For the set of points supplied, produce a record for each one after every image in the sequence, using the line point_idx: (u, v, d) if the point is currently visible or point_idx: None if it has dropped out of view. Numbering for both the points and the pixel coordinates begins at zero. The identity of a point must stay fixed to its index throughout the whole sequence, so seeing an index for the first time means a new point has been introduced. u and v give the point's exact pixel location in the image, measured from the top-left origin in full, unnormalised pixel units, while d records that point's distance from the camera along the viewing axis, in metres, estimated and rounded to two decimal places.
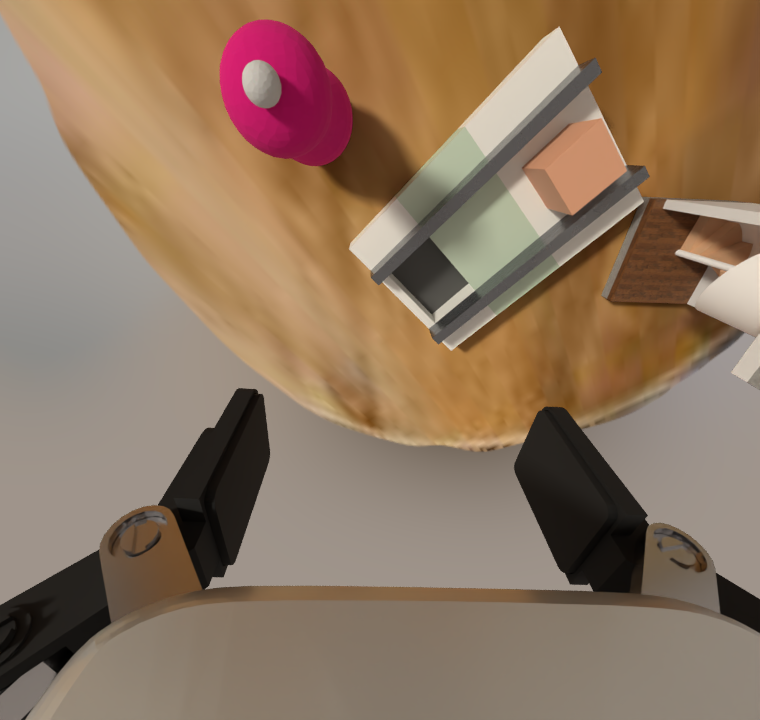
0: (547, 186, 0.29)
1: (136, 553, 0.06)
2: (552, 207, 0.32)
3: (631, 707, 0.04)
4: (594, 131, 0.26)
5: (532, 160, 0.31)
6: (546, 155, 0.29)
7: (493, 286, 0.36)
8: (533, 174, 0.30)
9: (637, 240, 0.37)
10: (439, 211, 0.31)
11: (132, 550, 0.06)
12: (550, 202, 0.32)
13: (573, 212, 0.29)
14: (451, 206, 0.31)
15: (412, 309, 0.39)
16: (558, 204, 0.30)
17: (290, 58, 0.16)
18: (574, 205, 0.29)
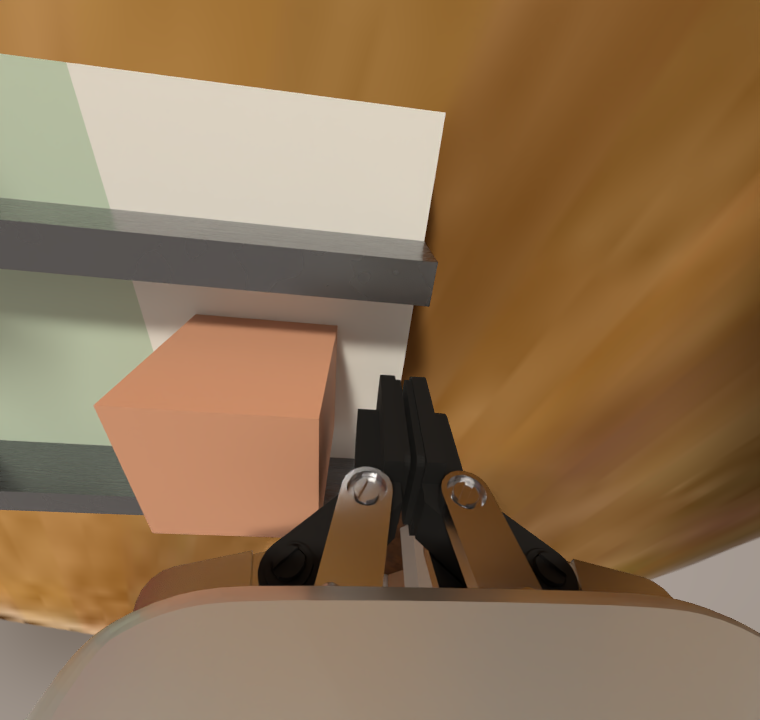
0: None
1: (359, 500, 0.08)
2: None
3: (631, 707, 0.04)
4: (285, 430, 0.08)
5: (214, 324, 0.11)
6: (211, 351, 0.10)
7: None
8: None
9: None
10: None
11: (358, 496, 0.07)
12: None
13: (157, 529, 0.10)
14: None
15: None
16: None
17: None
18: (164, 521, 0.10)
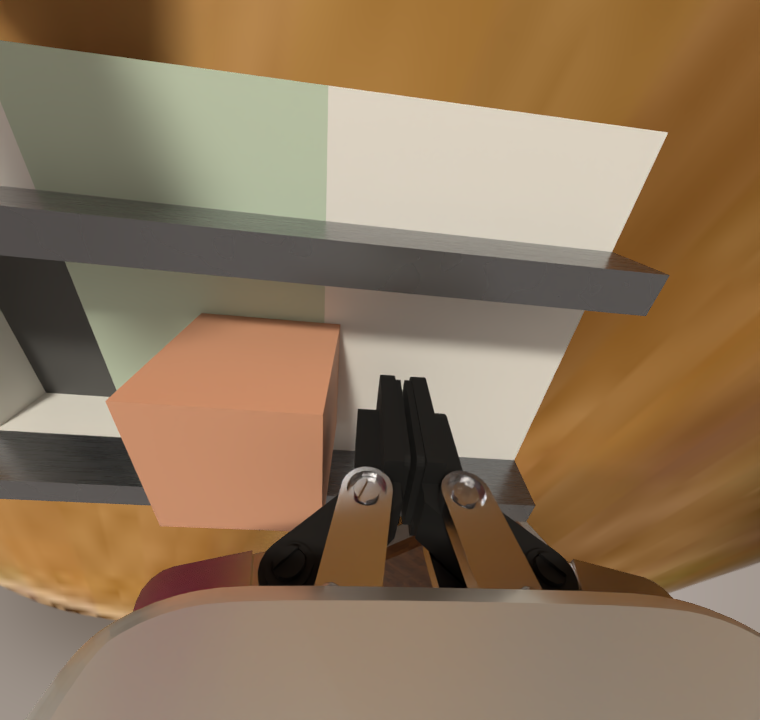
0: None
1: (359, 499, 0.08)
2: None
3: (631, 707, 0.04)
4: (290, 425, 0.08)
5: (220, 322, 0.11)
6: (217, 349, 0.10)
7: None
8: None
9: None
10: (47, 214, 0.08)
11: (358, 496, 0.07)
12: None
13: (164, 523, 0.10)
14: (102, 238, 0.08)
15: None
16: None
17: None
18: (171, 514, 0.10)
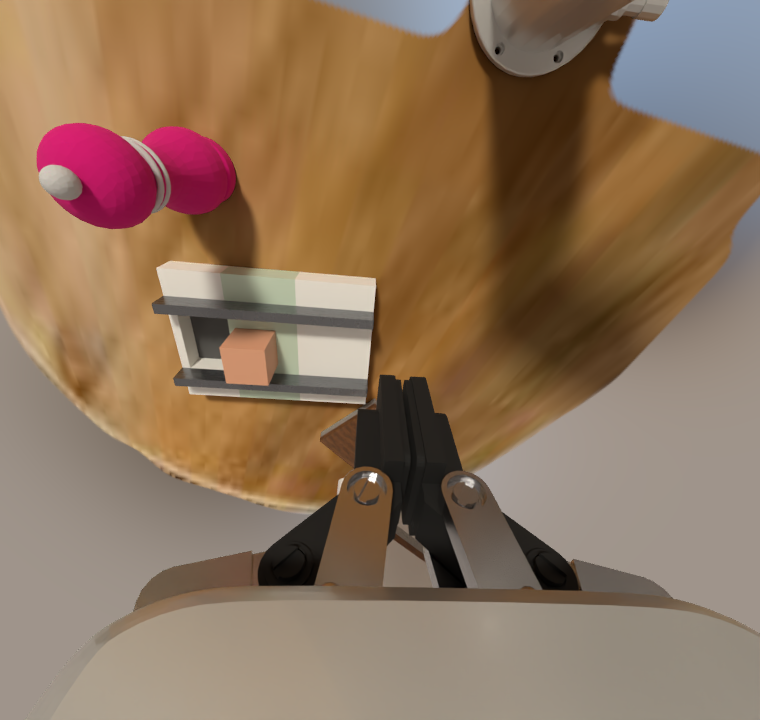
0: None
1: (359, 500, 0.08)
2: None
3: (631, 707, 0.04)
4: (257, 353, 0.37)
5: (240, 330, 0.41)
6: (240, 337, 0.39)
7: None
8: None
9: (353, 419, 0.51)
10: (236, 310, 0.37)
11: (358, 496, 0.07)
12: None
13: (227, 382, 0.39)
14: (246, 315, 0.38)
15: (178, 345, 0.42)
16: None
17: (106, 186, 0.20)
18: (229, 379, 0.39)
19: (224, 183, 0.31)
